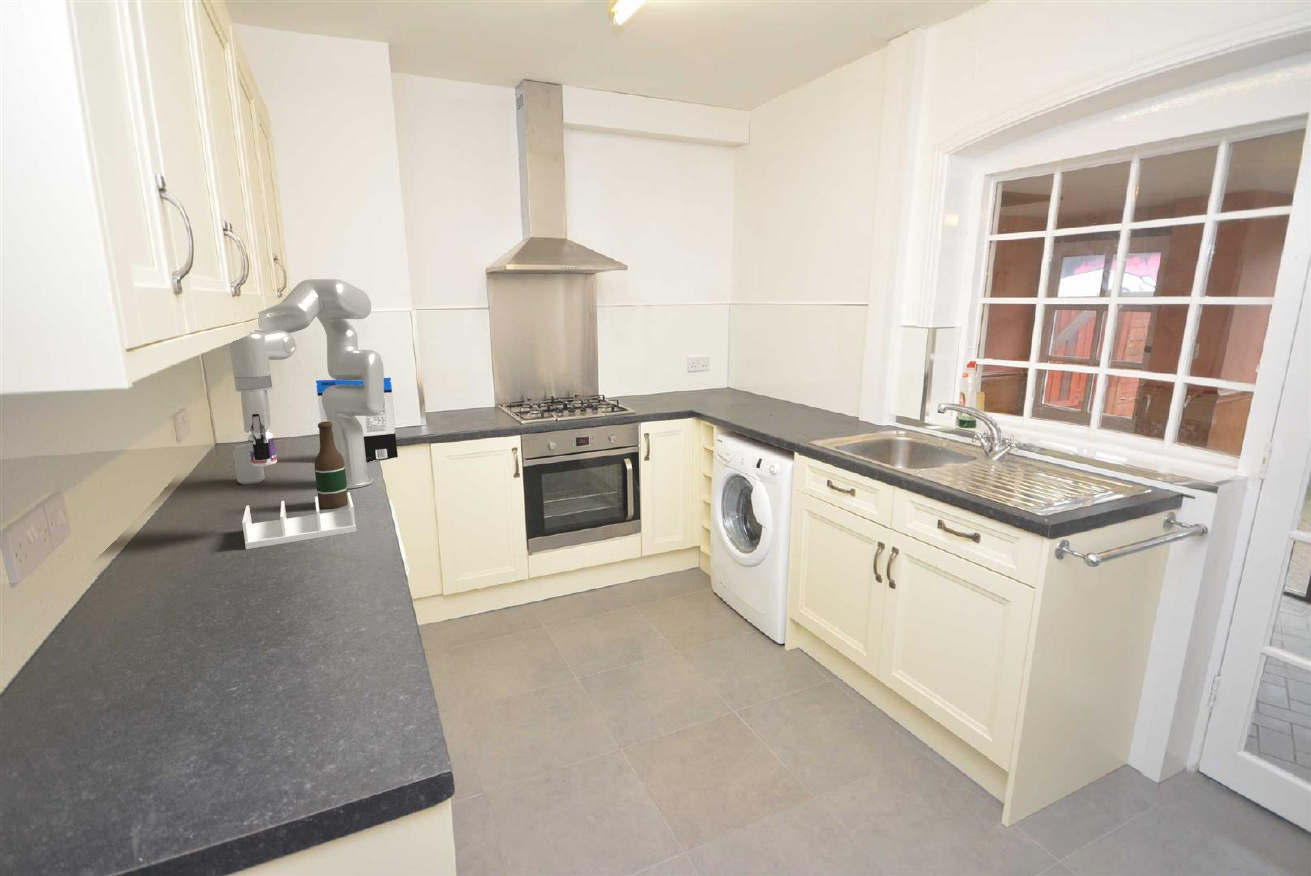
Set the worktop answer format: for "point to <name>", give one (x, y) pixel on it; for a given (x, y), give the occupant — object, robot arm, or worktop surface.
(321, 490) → the beer bottle
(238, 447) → the can
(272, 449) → the pill bottle
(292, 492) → the worktop surface
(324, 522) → the shelf rack
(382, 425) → the protein powder
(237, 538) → the worktop surface
